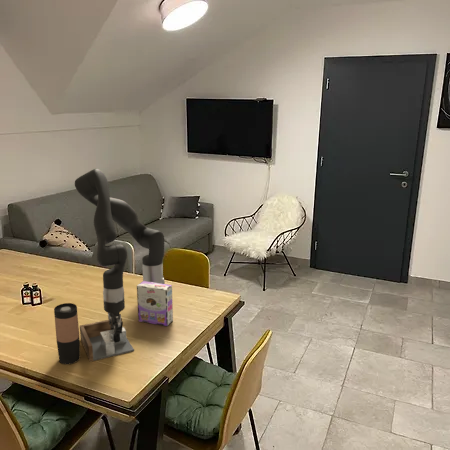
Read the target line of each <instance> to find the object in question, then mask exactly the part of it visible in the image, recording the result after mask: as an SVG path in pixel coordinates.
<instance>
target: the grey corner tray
mask: <svg viewBox="0 0 450 450" xmlns="http://www.w3.org/2000/svg"><path fill="white" fill-rule="evenodd" d="M89 340H90V342H91V344H92V348H93V361H92V362H95V361H99V360H102V359H107V358H110V357H115V356H119V355H123V354H127V353H131V352H134V351H135V349H134V347H133V345H132V343H130V340H129V339H128V338H127V336H126V341H127V343H122V344H118V345H114V348H115V354H112V355H108V356H106V354H105V352H104V350H103V348H102V346H101V339H100V336H96V337H91V338H89ZM86 353H87V352H86V351H85V354H86ZM86 356H87V357H88V355H87V354H86ZM88 360H90V359H89V358H88Z"/></svg>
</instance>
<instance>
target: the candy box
mask: <svg viewBox="0 0 450 450" xmlns="http://www.w3.org/2000/svg"><path fill="white" fill-rule="evenodd" d="M136 297H137V298H136V300H137V301H136V303H137V317H138V320H137V321H138V322H141V323H148V324H153V325H158V326H164V327H168V326H170V324H171V323H172V322H174V314H173V313H174V311H173V310H174V309H173V304H174V303H173V284H167V283H165V284H161V283H154V282H147V281H143V280H142V281H141V282H140V283H138V284H137V285H136Z"/></svg>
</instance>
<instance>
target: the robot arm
mask: <svg viewBox="0 0 450 450" xmlns="http://www.w3.org/2000/svg"><path fill="white" fill-rule="evenodd" d="M74 187H75V189H76V191H77V192H78V194H80V196H81V197H83V198H84V199H85V200H87V201H88V202H89V203H91V204H93V205H94V206H96V208H95V211H94V215H93V226H94V231H95V235H96V239H97V247H96V248H97V250H96V260H97V262H98V264H99V265H100V266H102V267H107V266H113V267H112V268H109V269H107V270H105V271H104V272H103V273H102V283H103V285H102V287H103V291H102V295H103V297H102V299H103V310H104V311H105V312H106V313H107V317H108V319H107V320H109V325H110V328H111V330H113V333H114V342H115V343H116V342H119V341H120V333H122V327H123V323H124V322H123V320H122V321H121V318H122V315H121V313H122V311H124V310H125V308H126V305H125V289H124V270H125V266H126V262H127V258H128V251H127V248H126V246H124V245H123V244H120V243H119V244H111V245H107V244H110V243H112V242H114V241H115V240H116V239H117V237H118V236H117V235H118V234H117V232H116V231H117V230H116V227H115V224H114V223H116V225H118V226H119V227H121V228H122V229H123V231H125V232H127V233H128V234H129V235H130V236H132V238H133V239H134V240H135V241H136V242H137V244H138V245H140V247H142V248H145V249H148V254H145V255H143V257H142V258H141V262H142V265H141V266H142V281H147V282H154V283H161V284H166V283H165V278H164V275H163V274H164V273H163V272H164V271H163V270H164V267H163V266H164V265H163V263H164V262H163V259H164V255H165V236H164V234H163V233H164V232H162V231H161V230H158V229H154V228H150V227H147V226H146V225H145V224H143V223H142V222H141V221H140V220H139V217H138V214H137V212H136V210H135V209H134V208H133V207H132V206H131V205H130V204H129V203H127V202H126V201H125V200H122V199H119V198H115V197H111V195H110V187H109V182H108V179H107V177H106V175H105V173H104V172H103V171H102V170H101V169H99V168H93V169H91V170H90V171H88V172H86V173H84V174H82V175H80V176H79V177H77V178H76V179H75V181H74Z"/></svg>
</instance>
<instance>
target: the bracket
mask: <svg viewBox="0 0 450 450" xmlns="http://www.w3.org/2000/svg"><path fill="white" fill-rule="evenodd" d="M126 337H127V330H126V328H125V327H123V326H122V333H120V341H119V342H116V343H115V342H114V333H113V330H108V331H104V332H100V339H101V346H102V348H103V350H104V352H105V354H106V356H108V355H112V354H115V348H114V345H118V344H122V343H127V341H126Z"/></svg>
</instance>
